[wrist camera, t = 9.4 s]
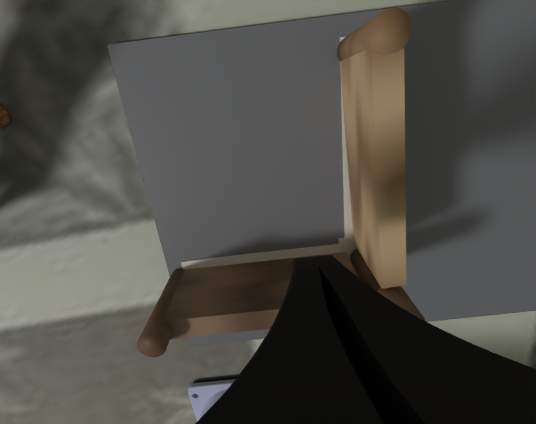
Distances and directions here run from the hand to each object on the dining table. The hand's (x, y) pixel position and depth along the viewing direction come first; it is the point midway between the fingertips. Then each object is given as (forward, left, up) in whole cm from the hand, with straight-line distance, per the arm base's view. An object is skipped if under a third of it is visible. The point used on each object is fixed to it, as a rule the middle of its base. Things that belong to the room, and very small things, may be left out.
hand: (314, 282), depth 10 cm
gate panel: (+2, -4, -9) cm, 10 cm away
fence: (-5, +2, -9) cm, 10 cm away
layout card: (-1, -4, -9) cm, 10 cm away
